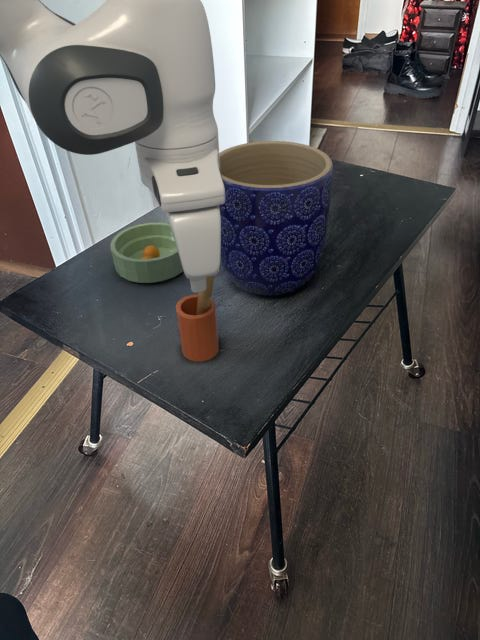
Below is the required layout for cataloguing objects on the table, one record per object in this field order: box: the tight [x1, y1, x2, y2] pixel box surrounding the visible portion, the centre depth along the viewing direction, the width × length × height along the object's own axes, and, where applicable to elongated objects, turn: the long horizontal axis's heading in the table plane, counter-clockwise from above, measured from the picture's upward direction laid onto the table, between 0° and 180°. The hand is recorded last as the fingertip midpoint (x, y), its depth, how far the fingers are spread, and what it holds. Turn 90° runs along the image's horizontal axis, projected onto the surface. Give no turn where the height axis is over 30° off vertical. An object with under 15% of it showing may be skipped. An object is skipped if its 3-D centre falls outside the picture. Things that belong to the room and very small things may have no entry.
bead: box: [143, 246, 160, 258], centre depth 87 cm, size 3×3×3 cm
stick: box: [196, 275, 215, 315], centre depth 63 cm, size 2×2×19 cm
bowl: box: [109, 222, 184, 284], centre depth 86 cm, size 14×14×5 cm
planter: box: [219, 140, 334, 297], centre depth 77 cm, size 18×18×21 cm
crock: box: [175, 293, 220, 363], centre depth 67 cm, size 5×5×8 cm
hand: (191, 268), depth 61 cm, fingers open, 8 cm apart
